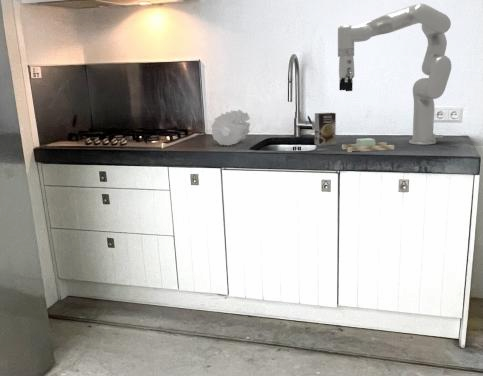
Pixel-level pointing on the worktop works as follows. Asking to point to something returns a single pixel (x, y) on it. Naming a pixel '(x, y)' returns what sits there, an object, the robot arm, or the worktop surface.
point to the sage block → (365, 142)
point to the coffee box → (325, 128)
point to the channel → (368, 147)
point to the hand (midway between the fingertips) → (345, 90)
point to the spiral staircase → (230, 127)
